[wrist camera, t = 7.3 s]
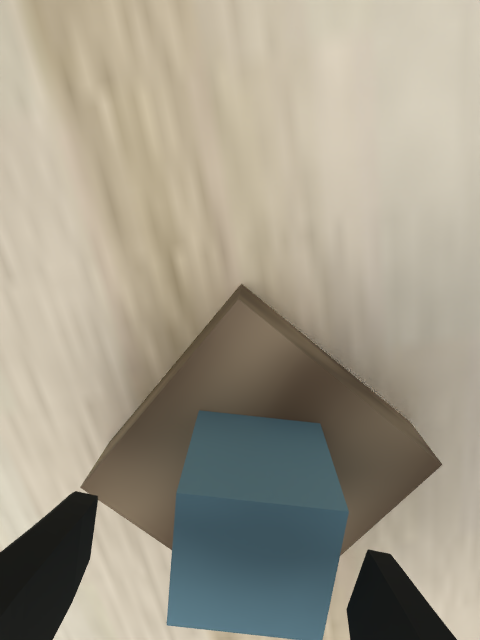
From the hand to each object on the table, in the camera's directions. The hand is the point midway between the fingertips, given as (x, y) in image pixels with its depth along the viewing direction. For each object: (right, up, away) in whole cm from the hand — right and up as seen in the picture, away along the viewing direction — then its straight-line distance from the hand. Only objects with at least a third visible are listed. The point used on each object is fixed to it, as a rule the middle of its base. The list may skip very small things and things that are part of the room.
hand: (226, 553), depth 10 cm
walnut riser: (+1, 0, +11) cm, 11 cm away
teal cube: (+1, 0, +7) cm, 7 cm away
